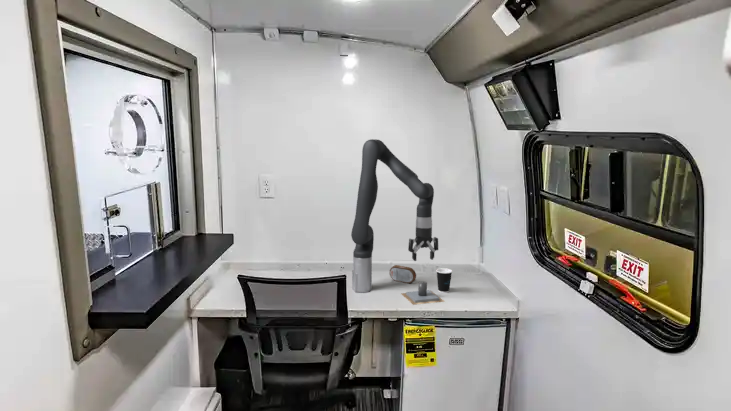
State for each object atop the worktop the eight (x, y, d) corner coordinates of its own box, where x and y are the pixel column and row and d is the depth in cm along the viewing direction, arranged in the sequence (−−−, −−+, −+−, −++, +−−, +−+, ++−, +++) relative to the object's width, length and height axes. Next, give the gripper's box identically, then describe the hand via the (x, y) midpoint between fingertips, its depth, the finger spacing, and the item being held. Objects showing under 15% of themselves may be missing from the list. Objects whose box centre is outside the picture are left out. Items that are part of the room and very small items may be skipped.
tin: (416, 283, 245) (416, 268, 244) (413, 285, 242) (413, 269, 241) (391, 278, 253) (391, 263, 252) (388, 280, 250) (388, 265, 249)
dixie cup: (449, 295, 226) (450, 273, 225) (433, 293, 230) (434, 271, 228) (453, 290, 234) (454, 269, 232) (437, 288, 237) (438, 267, 235)
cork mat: (412, 305, 212) (413, 304, 212) (400, 294, 227) (400, 293, 227) (445, 302, 217) (445, 301, 217) (430, 291, 232) (430, 290, 232)
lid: (415, 302, 215) (415, 287, 214) (406, 294, 226) (406, 280, 225) (439, 300, 218) (439, 285, 217) (428, 292, 229) (429, 278, 228)
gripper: (434, 223, 223) (433, 256, 225) (406, 225, 219) (406, 259, 221) (441, 226, 215) (440, 260, 218) (412, 228, 211) (412, 263, 214)
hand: (423, 259), depth 219 cm, fingers open, 8 cm apart
